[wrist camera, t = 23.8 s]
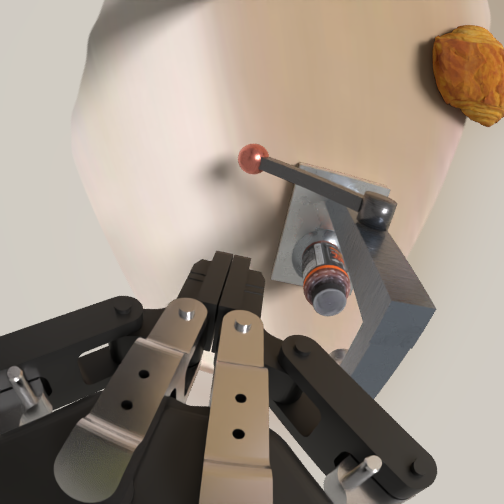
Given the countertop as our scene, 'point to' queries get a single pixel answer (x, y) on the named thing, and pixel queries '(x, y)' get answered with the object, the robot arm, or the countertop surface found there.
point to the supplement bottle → (325, 278)
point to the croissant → (471, 72)
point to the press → (358, 277)
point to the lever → (322, 187)
